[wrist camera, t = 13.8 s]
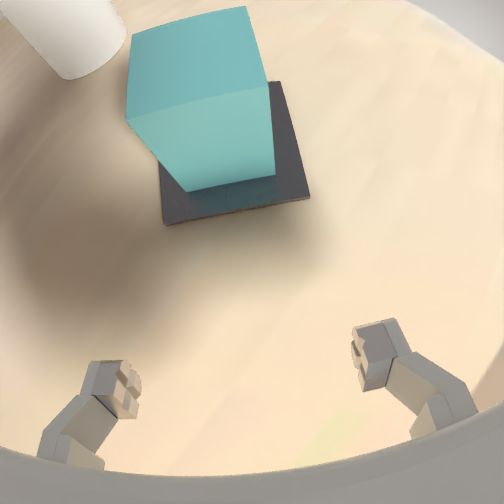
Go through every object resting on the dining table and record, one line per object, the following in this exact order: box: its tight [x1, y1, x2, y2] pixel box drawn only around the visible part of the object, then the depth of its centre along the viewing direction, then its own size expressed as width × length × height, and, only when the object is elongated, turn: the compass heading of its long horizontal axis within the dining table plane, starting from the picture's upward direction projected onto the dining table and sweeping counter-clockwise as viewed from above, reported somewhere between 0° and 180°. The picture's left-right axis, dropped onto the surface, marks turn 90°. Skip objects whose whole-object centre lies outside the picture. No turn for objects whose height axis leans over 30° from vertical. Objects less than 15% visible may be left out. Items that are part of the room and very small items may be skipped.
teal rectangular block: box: [126, 6, 276, 192], centre depth 16 cm, size 6×6×9 cm
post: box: [159, 81, 310, 226], centre depth 17 cm, size 9×9×7 cm
